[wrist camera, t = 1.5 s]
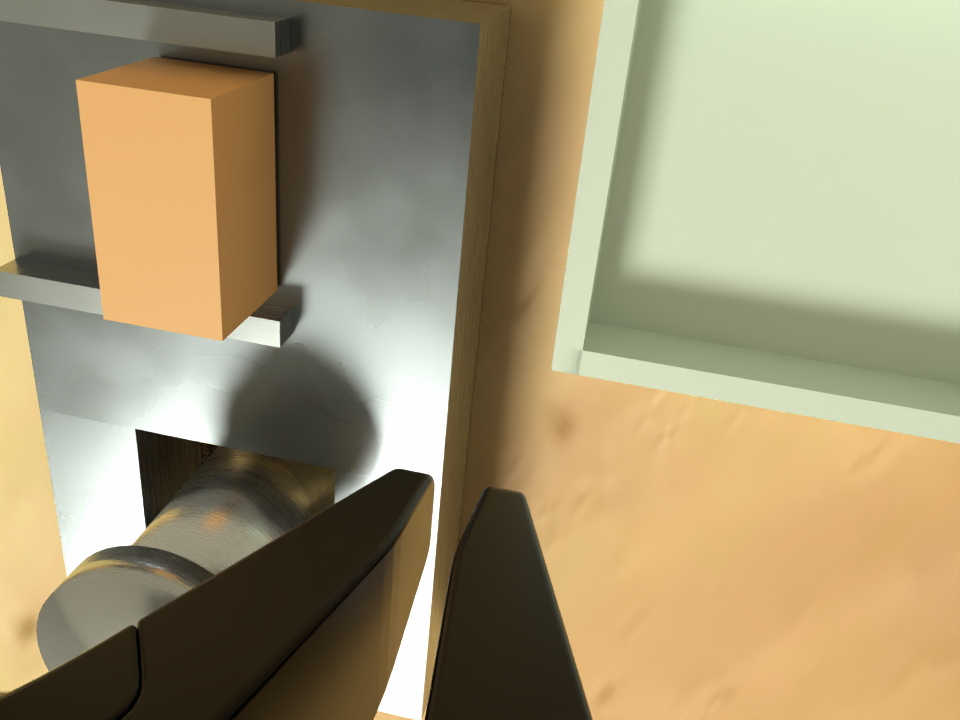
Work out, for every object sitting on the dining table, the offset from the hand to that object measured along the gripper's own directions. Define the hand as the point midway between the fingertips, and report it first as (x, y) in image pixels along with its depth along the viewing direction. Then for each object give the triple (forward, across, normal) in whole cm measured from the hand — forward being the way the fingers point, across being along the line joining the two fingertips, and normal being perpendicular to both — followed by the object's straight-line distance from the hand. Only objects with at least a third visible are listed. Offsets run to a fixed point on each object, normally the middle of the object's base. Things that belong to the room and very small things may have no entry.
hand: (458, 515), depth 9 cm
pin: (+12, +7, +9) cm, 17 cm away
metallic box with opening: (+12, +7, +5) cm, 15 cm away
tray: (+12, -5, -1) cm, 13 cm away
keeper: (+9, +7, 0) cm, 11 cm away
